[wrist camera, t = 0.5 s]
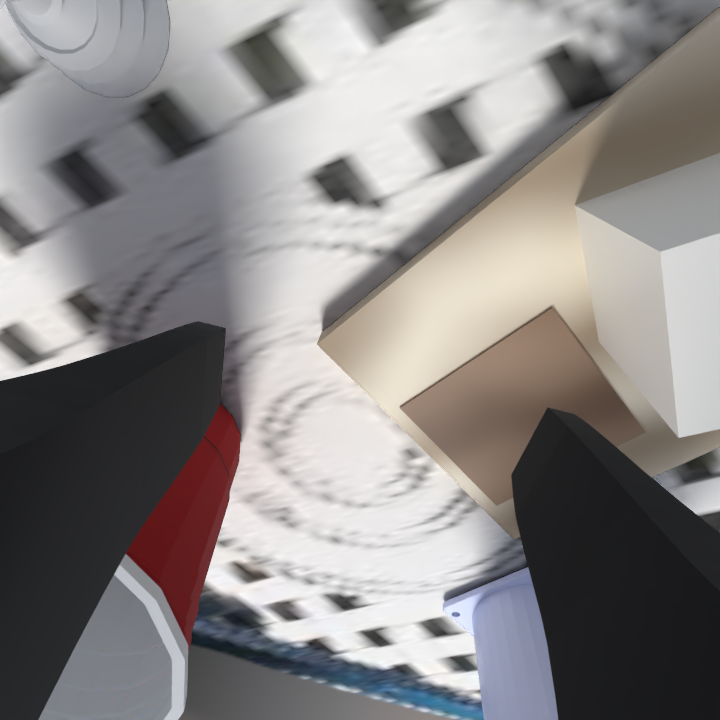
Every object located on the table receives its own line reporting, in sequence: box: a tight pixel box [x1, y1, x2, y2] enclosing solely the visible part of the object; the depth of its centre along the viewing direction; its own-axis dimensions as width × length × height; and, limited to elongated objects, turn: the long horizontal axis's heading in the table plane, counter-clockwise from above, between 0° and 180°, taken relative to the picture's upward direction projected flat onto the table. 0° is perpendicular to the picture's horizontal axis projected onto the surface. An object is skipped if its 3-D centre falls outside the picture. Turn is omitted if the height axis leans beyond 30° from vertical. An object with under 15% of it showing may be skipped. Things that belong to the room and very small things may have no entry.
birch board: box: [317, 7, 720, 539], centre depth 18 cm, size 15×17×1 cm
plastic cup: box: [39, 403, 240, 720], centre depth 18 cm, size 11×11×12 cm
